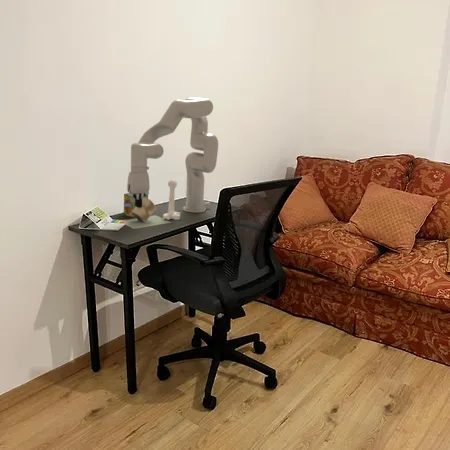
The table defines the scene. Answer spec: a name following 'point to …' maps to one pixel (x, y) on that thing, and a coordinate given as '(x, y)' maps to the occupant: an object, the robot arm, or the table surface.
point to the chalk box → (130, 204)
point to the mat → (149, 222)
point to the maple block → (144, 210)
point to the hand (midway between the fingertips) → (138, 206)
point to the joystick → (171, 203)
